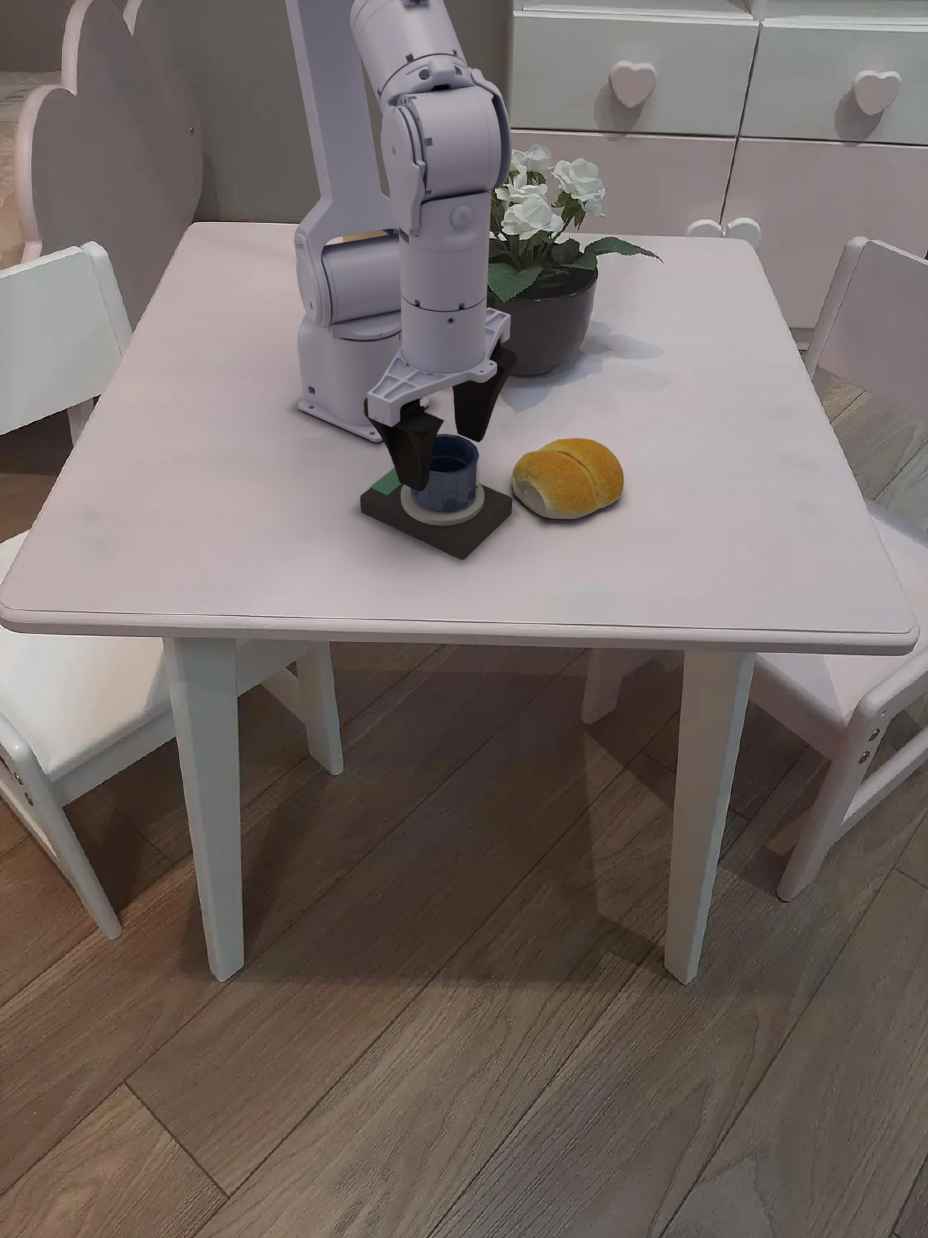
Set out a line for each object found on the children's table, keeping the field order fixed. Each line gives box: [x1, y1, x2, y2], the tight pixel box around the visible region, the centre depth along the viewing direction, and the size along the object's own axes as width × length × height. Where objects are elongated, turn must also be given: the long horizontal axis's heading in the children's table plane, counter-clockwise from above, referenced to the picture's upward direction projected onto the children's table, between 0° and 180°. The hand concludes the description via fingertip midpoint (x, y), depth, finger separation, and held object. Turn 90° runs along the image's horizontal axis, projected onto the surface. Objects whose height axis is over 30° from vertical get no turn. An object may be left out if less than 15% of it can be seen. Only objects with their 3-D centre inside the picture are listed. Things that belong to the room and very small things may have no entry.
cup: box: [409, 433, 480, 512], centre depth 72 cm, size 5×5×4 cm
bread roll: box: [510, 437, 625, 520], centre depth 77 cm, size 8×9×4 cm
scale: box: [359, 466, 514, 560], centre depth 75 cm, size 10×7×2 cm
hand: (442, 459), depth 72 cm, fingers open, 7 cm apart
